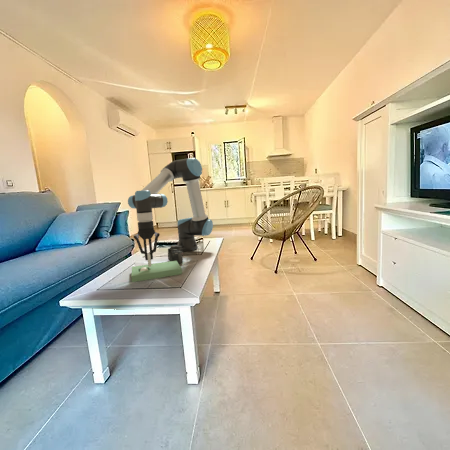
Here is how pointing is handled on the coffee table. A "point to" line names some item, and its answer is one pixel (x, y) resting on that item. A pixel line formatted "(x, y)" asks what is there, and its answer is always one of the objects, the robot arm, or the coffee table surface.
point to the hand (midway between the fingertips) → (149, 265)
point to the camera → (175, 254)
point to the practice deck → (156, 271)
